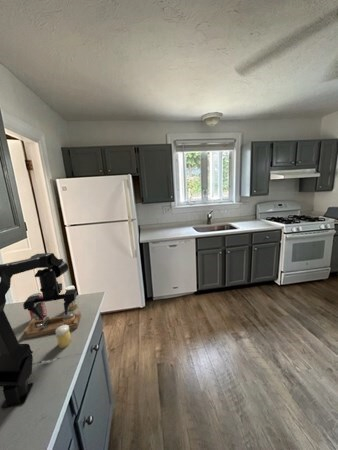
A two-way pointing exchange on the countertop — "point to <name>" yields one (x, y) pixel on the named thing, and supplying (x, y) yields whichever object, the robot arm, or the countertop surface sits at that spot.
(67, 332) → the mustard jar
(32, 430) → the countertop surface
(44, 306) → the soda can
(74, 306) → the sprinkles bottle
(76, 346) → the countertop surface
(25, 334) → the wooden tray
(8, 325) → the robot arm
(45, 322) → the pusher
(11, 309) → the countertop surface
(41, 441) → the countertop surface
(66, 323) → the spice jar
